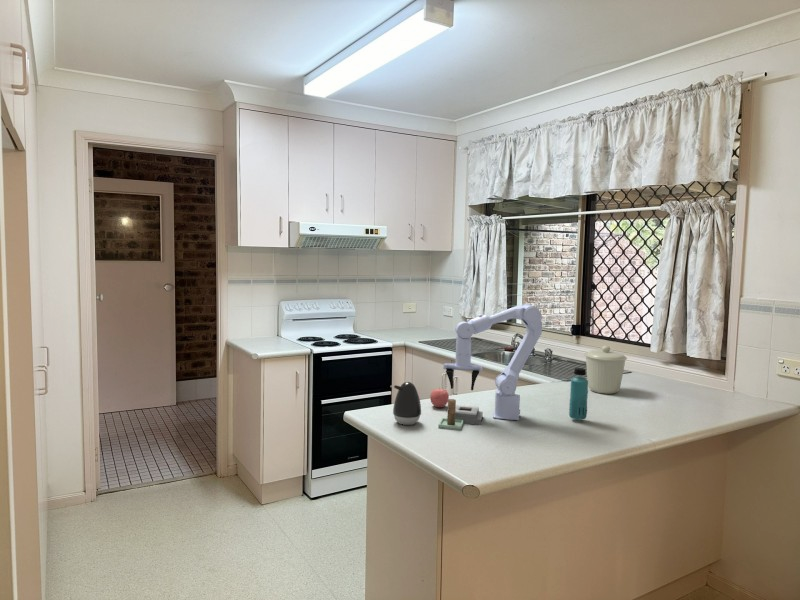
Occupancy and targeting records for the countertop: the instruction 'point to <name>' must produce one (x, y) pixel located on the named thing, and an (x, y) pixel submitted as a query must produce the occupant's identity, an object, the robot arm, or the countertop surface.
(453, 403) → the brown wooden cylinder
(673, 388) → the countertop surface
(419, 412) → the pump dispenser
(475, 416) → the box
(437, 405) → the apple
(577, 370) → the beverage bottle
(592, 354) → the canister
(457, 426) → the rest tray
